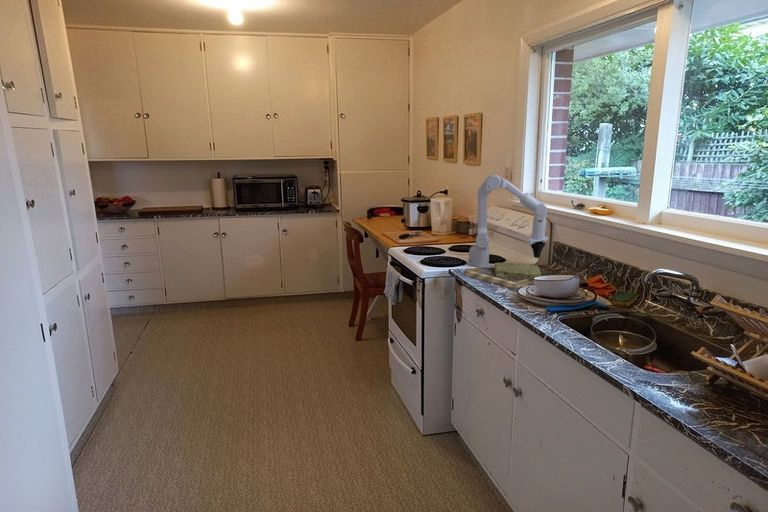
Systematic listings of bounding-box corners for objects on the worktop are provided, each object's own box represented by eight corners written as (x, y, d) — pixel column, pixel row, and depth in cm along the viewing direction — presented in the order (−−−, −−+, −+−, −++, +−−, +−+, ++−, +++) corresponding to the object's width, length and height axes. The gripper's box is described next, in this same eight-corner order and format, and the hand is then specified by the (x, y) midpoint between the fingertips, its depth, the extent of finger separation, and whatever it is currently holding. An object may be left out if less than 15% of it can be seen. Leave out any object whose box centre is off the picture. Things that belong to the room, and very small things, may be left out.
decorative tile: (494, 268, 228) (494, 261, 227) (537, 270, 224) (538, 263, 223) (494, 278, 210) (495, 270, 210) (541, 281, 206) (542, 273, 206)
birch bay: (463, 274, 214) (464, 270, 214) (478, 271, 220) (478, 267, 220) (514, 288, 194) (514, 284, 194) (528, 284, 200) (528, 279, 200)
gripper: (537, 232, 215) (535, 261, 218) (555, 228, 224) (552, 256, 227) (524, 230, 220) (522, 258, 223) (541, 226, 229) (539, 254, 232)
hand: (536, 257), depth 225 cm, fingers closed
